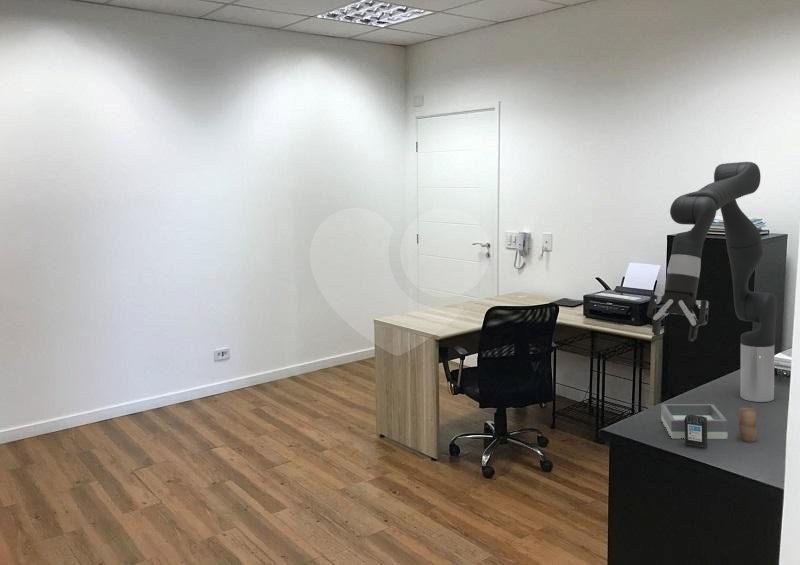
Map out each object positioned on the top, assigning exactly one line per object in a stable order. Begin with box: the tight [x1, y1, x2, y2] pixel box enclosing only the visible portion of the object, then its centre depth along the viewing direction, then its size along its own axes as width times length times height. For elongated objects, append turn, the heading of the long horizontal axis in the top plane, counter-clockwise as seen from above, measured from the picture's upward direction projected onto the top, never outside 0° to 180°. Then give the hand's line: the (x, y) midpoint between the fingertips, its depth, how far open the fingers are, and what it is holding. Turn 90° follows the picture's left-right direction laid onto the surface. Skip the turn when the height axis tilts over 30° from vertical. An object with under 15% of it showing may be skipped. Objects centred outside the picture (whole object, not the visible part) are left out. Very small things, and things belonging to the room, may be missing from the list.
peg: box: [738, 407, 758, 443], centre depth 176 cm, size 4×4×8 cm
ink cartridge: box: [684, 415, 708, 450], centre depth 174 cm, size 5×2×8 cm, turn 51°
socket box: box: [660, 403, 728, 440], centre depth 186 cm, size 14×14×5 cm
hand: (673, 338), depth 168 cm, fingers open, 8 cm apart
